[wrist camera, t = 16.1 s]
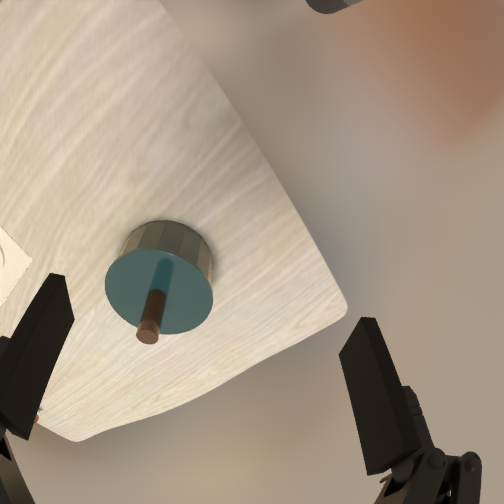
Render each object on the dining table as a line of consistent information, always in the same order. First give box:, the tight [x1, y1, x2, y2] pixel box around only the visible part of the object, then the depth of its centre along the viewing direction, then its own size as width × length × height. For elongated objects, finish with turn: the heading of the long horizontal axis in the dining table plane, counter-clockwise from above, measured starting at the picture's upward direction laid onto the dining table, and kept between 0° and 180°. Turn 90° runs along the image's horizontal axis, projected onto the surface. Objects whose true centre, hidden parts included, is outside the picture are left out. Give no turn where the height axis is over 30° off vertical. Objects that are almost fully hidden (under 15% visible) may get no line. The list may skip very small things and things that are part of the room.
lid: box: [105, 247, 213, 344], centre depth 37 cm, size 15×15×8 cm
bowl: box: [118, 221, 213, 284], centre depth 43 cm, size 14×14×8 cm
